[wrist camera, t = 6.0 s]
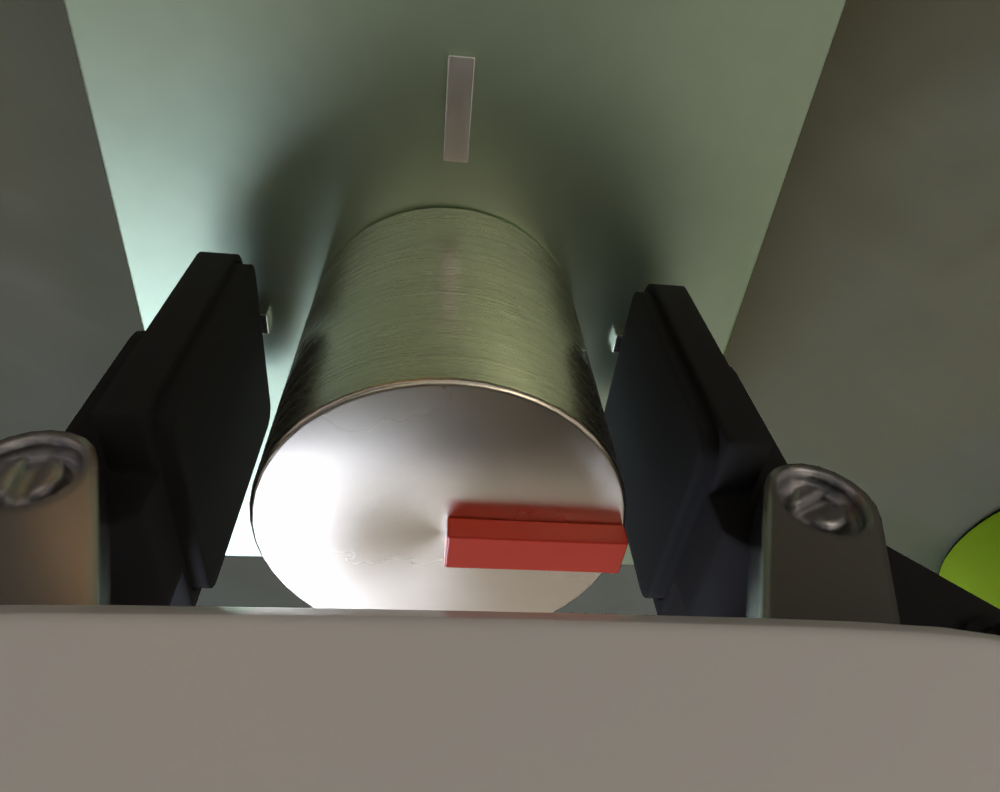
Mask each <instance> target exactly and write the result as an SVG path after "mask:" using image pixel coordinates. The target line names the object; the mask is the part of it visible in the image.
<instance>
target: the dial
mask: <svg viewBox="0 0 1000 792" xmlns="http://www.w3.org/2000/svg"><path fill="white" fill-rule="evenodd" d="M626 504H627V502H626V495H625V489H624V483H623V480H622V476H621V473H620V469H619V465H618V462H617V458H616V454H615V451H614V447H613V443H612V440H611V436H610V433H609V429H608V425H607V422H606V418H605V414H604V411H603V407H602V404H601V400H600V396H599V393H598V389H597V385H596V382H595V378H594V374H593V371H592V367H591V364H590V360H589V356H588V353H587V349H586V345H585V342H584V338H583V335H582V331H581V327H580V324H579V320H578V316H577V313H576V309H575V305H574V302H573V298H572V295H571V292H570V289H569V286H568V284H567V282H566V280H565V278H564V276H563V274H562V272H561V270H560V268H559V267H558V266H557V264H556V263H555V261H554V260H553V259H552V257H551V256H550V255H549V254H548V253H547V252H546V251H545V250H544V249H543V248H542V246H541V245H540V244H538V243H537V242H536V241H535V240H533V239H532V238H531V237H530V236H528V235H527V234H526V233H524V232H523V231H521V230H519V229H518V228H516V227H514V226H513V225H511V224H509V223H507V222H504V221H502V220H500V219H497V218H495V217H493V216H489V215H486V214H482V213H479V212H475V211H469V210H463V209H456V208H429V209H419V210H414V211H409V212H405V213H400V214H397V215H394V216H392V217H389V218H386V219H384V220H381V221H379V222H377V223H375V224H373V225H371V226H370V227H368V228H366V229H364V230H363V231H361V232H360V233H359V234H357V235H356V236H355V237H353V238H352V239H350V240H349V241H348V242H347V243H346V244H345V245H344V246H343V247H342V248H341V249H340V250H339V251H338V252H337V254H336V255H335V256H334V258H333V259H332V260H331V261H330V263H329V264H328V266H327V268H326V269H325V271H324V273H323V275H322V277H321V279H320V281H319V284H318V287H317V290H316V293H315V295H314V299H313V302H312V305H311V308H310V311H309V314H308V317H307V320H306V323H305V326H304V329H303V332H302V335H301V338H300V341H299V344H298V347H297V350H296V353H295V356H294V359H293V363H292V366H291V369H290V372H289V375H288V378H287V381H286V384H285V387H284V390H283V393H282V396H281V399H280V402H279V405H278V408H277V411H276V414H275V417H274V420H273V423H272V427H271V430H270V433H269V436H268V439H267V442H266V445H265V448H264V451H263V454H262V457H261V460H260V463H259V466H258V469H257V472H256V475H255V478H254V481H253V484H252V490H251V496H250V503H249V506H250V522H251V527H252V531H253V535H254V539H255V542H256V544H257V547H258V549H259V551H260V553H261V556H262V558H263V559H264V561H265V562H266V564H267V565H268V567H269V568H270V570H271V571H272V573H273V574H274V575H275V576H276V577H277V578H278V579H279V581H280V582H281V583H282V584H283V585H284V586H285V587H286V588H287V589H289V590H290V591H291V592H292V593H293V594H294V595H295V596H297V597H298V598H299V599H301V600H302V601H304V602H305V603H306V604H308V605H309V606H311V607H312V608H342V609H395V610H447V611H495V612H542V613H553V612H555V611H557V610H559V609H560V608H562V607H564V606H566V605H567V604H568V603H570V602H571V601H573V600H574V599H575V598H577V597H578V596H580V595H581V594H582V593H583V592H584V591H585V590H586V589H587V588H589V587H590V586H591V585H592V584H593V583H594V582H595V581H596V580H597V578H598V577H599V576H600V575H601V574H602V573H618V572H619V570H620V567H621V564H622V561H623V558H624V555H625V552H626V549H627V546H628V539H627V535H626V532H625V528H624V525H625V521H626Z"/></svg>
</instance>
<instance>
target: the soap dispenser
mask: <svg viewBox="0 0 1000 792" xmlns="http://www.w3.org/2000/svg"><path fill="white" fill-rule="evenodd" d="M939 576H941V577H943V578H945V579H947V580H948V581H950V582H952V583H954V584H956V585H957V586H959V587H961V588H963V589H964V590H966V591H968V592H970V593H972V594H973V595H975V596H977V597H979V598H981V599H982V600H984V601H986V602H988V603H989V604H991V605H993V606H995V607H997V608H998V609H1000V511H999V512H997V513H996V514H994V515H992V516H991V517H989V518H987V519H986V520H984V521H983V522H981V523H980V524H978V525H977V526H976V527H974V528H973V529H972V530H971V531H969V532H968V533H967V534H966V535H965V536H964V537H963V538H962V539H961V540H960V541H959V542H958V543H957V544H956V545H955V546H954V547H953V548H952V550H951V551H950V552H949V554H948V555H947V557H946V558H945V560H944V562H943V564H942V566H941V569H940V572H939Z"/></svg>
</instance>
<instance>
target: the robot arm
mask: <svg viewBox="0 0 1000 792" xmlns="http://www.w3.org/2000/svg"><path fill="white" fill-rule="evenodd" d="M270 411H271V405H270V395H269V386H268V377H267V368H266V360H265V351H264V342H263V333H262V324H261V316H260V307H259V298H258V289H257V281H256V273H255V269H254V266H253V265H251V264H243V262H242V259H241V257H240V255H239V254H228V253H214V252H199V253H198V254H197V255H196V256H195V258H194V259H193V261H192V262H191V264H190V265H189V267H188V268H187V270H186V271H185V273H184V274H183V276H182V277H181V279H180V280H179V282H178V283H177V285H176V286H175V288H174V289H173V291H172V292H171V294H170V295H169V297H168V298H167V300H166V301H165V303H164V304H163V306H162V307H161V309H160V310H159V312H158V313H157V315H156V316H155V318H154V319H153V320H152V322H151V323H150V325H149V326H148V328H147V329H146V331H137V332H135V333H134V334H133V335H132V336H131V337H130V339H129V340H128V341H127V343H126V344H125V346H124V347H123V349H122V350H121V351H120V353H119V354H118V356H117V357H116V359H115V360H114V362H113V363H112V364H111V366H110V367H109V369H108V370H107V372H106V373H105V375H104V376H103V377H102V379H101V380H100V382H99V383H98V385H97V386H96V388H95V389H94V390H93V392H92V393H91V395H90V396H89V398H88V399H87V400H86V402H85V403H84V405H83V406H82V408H81V409H80V411H79V412H78V413H77V415H76V416H75V418H74V419H73V421H72V422H71V424H70V425H69V426H68V428H67V429H66V431H65V432H64V431H55V430H46V431H33V432H27V433H23V434H19V435H15V436H10V437H7V438H5V439H2V440H0V792H1000V609H998V608H997V607H995V606H993V605H991V604H989V603H988V602H986V601H984V600H982V599H981V598H979V597H977V596H975V595H973V594H972V593H970V592H968V591H966V590H964V589H963V588H961V587H959V586H957V585H956V584H954V583H952V582H950V581H948V580H947V579H945V578H943V577H941V576H939V575H938V574H936V573H934V572H932V571H931V570H929V569H927V568H925V567H923V566H922V565H920V564H918V563H916V562H914V561H913V560H911V559H909V558H907V557H906V556H904V555H902V554H900V553H898V552H897V551H895V550H893V549H891V548H890V547H888V546H886V541H885V536H884V530H883V525H882V519H881V516H880V514H879V511H878V509H877V506H876V505H875V504H874V502H873V501H872V500H871V499H870V497H869V496H868V495H867V494H866V493H865V492H864V491H863V490H862V489H860V488H859V487H858V486H857V485H856V484H854V483H853V482H852V481H850V480H848V479H846V478H844V477H843V476H841V475H839V474H837V473H835V472H832V471H830V470H827V469H824V468H822V467H819V466H813V465H807V464H787V463H786V461H785V459H784V457H783V456H782V454H781V452H780V450H779V449H778V447H777V445H776V443H775V441H774V440H773V438H772V436H771V434H770V433H769V431H768V429H767V427H766V425H765V424H764V422H763V420H762V418H761V417H760V415H759V413H758V411H757V409H756V408H755V406H754V404H753V402H752V401H751V399H750V397H749V395H748V393H747V392H746V390H745V388H744V386H743V384H742V383H741V381H740V379H739V377H738V376H737V374H736V372H735V371H734V370H733V369H732V367H730V366H729V365H728V363H727V361H726V359H725V357H724V356H723V354H722V352H721V350H720V348H719V347H718V345H717V343H716V341H715V339H714V338H713V336H712V334H711V332H710V331H709V329H708V327H707V325H706V323H705V322H704V320H703V318H702V316H701V314H700V313H699V311H698V309H697V307H696V305H695V304H694V302H693V300H692V298H691V296H690V295H689V293H688V291H687V289H686V288H685V287H684V286H677V285H663V284H649V285H647V287H646V289H645V291H644V292H637V291H636V292H635V293H634V295H633V298H632V301H631V305H630V309H629V313H628V317H627V321H626V325H625V329H624V333H623V338H622V342H621V346H620V350H619V354H618V358H617V362H616V366H615V370H614V374H613V378H612V382H611V386H610V390H609V394H608V398H607V402H606V407H605V411H604V414H605V418H606V422H607V425H608V429H609V433H610V436H611V440H612V443H613V447H614V451H615V454H616V458H617V462H618V465H619V469H620V473H621V476H622V480H623V483H624V489H625V495H626V502H627V504H626V521H625V525H624V528H625V532H626V535H627V539H628V543H629V547H630V551H631V555H632V559H633V562H634V566H635V570H636V574H637V578H638V582H639V586H640V589H641V592H642V595H643V596H644V597H645V598H653V600H654V603H655V607H656V611H657V614H658V615H626V614H587V613H542V612H495V611H447V610H395V609H342V608H279V607H211V606H195V605H196V603H197V600H198V597H199V594H200V591H201V588H212V587H213V586H214V585H215V583H216V581H217V578H218V575H219V572H220V569H221V566H222V563H223V560H224V557H225V554H226V551H227V548H228V545H229V542H230V539H231V536H232V533H233V530H234V527H235V524H236V521H237V518H238V515H239V512H240V509H241V506H242V503H243V500H244V497H245V494H246V491H247V488H248V485H249V482H250V479H251V476H252V473H253V470H254V467H255V464H256V461H257V458H258V455H259V452H260V449H261V446H262V443H263V440H264V437H265V434H266V431H267V428H268V425H269V421H270Z"/></svg>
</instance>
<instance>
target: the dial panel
mask: <svg viewBox="0 0 1000 792" xmlns="http://www.w3.org/2000/svg"><path fill="white" fill-rule="evenodd" d="M63 1H64V5H65V9H66V14H67V18H68V22H69V26H70V30H71V34H72V38H73V42H74V47H75V51H76V55H77V59H78V63H79V67H80V71H81V75H82V80H83V84H84V88H85V92H86V96H87V100H88V104H89V108H90V112H91V117H92V121H93V125H94V129H95V133H96V137H97V141H98V145H99V150H100V154H101V158H102V162H103V166H104V170H105V174H106V178H107V183H108V187H109V191H110V195H111V199H112V203H113V207H114V211H115V215H116V220H117V224H118V228H119V232H120V236H121V240H122V244H123V248H124V253H125V257H126V261H127V265H128V269H129V273H130V277H131V281H132V286H133V290H134V294H135V298H136V302H137V306H138V310H139V314H140V319H141V323H142V327H143V331H146V329H147V328H148V326H149V325H150V323H151V322H152V320H153V319H154V318H155V316H156V315H157V313H158V312H159V310H160V309H161V307H162V306H163V304H164V303H165V301H166V300H167V298H168V297H169V295H170V294H171V292H172V291H173V289H174V288H175V286H176V285H177V283H178V282H179V280H180V279H181V277H182V276H183V274H184V273H185V271H186V270H187V268H188V267H189V265H190V264H191V262H192V261H193V259H194V258H195V256H196V255H197V254H198V253H199V252H214V253H228V254H239V255H240V257H241V259H242V262H243V264H251V265H253V266H254V269H255V273H256V281H257V289H258V298H259V307H260V316H261V324H262V333H263V342H264V351H265V360H266V368H267V377H268V386H269V395H270V405H271V411H270V421H269V425H268V428H267V431H266V434H265V437H264V440H263V443H262V446H261V449H260V452H259V455H258V458H257V461H256V464H255V467H254V470H253V473H252V476H251V479H250V482H249V485H248V488H247V491H246V494H245V497H244V500H243V503H242V506H241V509H240V512H239V515H238V518H237V521H236V524H235V527H234V530H233V533H232V536H231V539H230V542H229V545H228V548H227V551H226V554H225V556H254V557H262V556H261V553H260V551H259V549H258V547H257V544H256V542H255V539H254V535H253V531H252V527H251V522H250V506H249V503H250V496H251V490H252V484H253V481H254V478H255V475H256V472H257V469H258V466H259V463H260V460H261V457H262V454H263V451H264V448H265V445H266V442H267V439H268V436H269V433H270V430H271V427H272V423H273V420H274V417H275V414H276V411H277V408H278V405H279V402H280V399H281V396H282V393H283V390H284V387H285V384H286V381H287V378H288V375H289V372H290V369H291V366H292V363H293V359H294V356H295V353H296V350H297V347H298V344H299V341H300V338H301V335H302V332H303V329H304V326H305V323H306V320H307V317H308V314H309V311H310V308H311V305H312V302H313V299H314V295H315V293H316V290H317V287H318V284H319V281H320V279H321V277H322V275H323V273H324V271H325V269H326V268H327V266H328V264H329V263H330V261H331V260H332V259H333V258H334V256H335V255H336V254H337V252H338V251H339V250H340V249H341V248H342V247H343V246H344V245H345V244H346V243H347V242H348V241H349V240H350V239H352V238H353V237H355V236H356V235H357V234H359V233H360V232H361V231H363V230H364V229H366V228H368V227H370V226H371V225H373V224H375V223H377V222H379V221H381V220H384V219H386V218H389V217H392V216H394V215H397V214H400V213H405V212H409V211H414V210H419V209H429V208H456V209H463V210H469V211H475V212H479V213H482V214H486V215H489V216H493V217H495V218H497V219H500V220H502V221H504V222H507V223H509V224H511V225H513V226H514V227H516V228H518V229H519V230H521V231H523V232H524V233H526V234H527V235H528V236H530V237H531V238H532V239H533V240H535V241H536V242H537V243H538V244H540V245H541V246H542V248H543V249H544V250H545V251H546V252H547V253H548V254H549V255H550V256H551V257H552V259H553V260H554V261H555V263H556V264H557V266H558V267H559V268H560V270H561V272H562V274H563V276H564V278H565V280H566V282H567V284H568V286H569V289H570V292H571V295H572V298H573V302H574V305H575V309H576V313H577V316H578V320H579V324H580V327H581V331H582V335H583V338H584V342H585V345H586V349H587V353H588V356H589V360H590V364H591V367H592V371H593V374H594V378H595V382H596V385H597V389H598V393H599V396H600V400H601V404H602V407H603V411H605V407H606V402H607V398H608V394H609V390H610V386H611V382H612V378H613V374H614V370H615V366H616V362H617V358H618V354H619V350H620V346H621V342H622V338H623V333H624V329H625V325H626V321H627V317H628V313H629V309H630V305H631V301H632V298H633V295H634V293H635V292H636V291H637V292H644V291H645V289H646V287H647V285H649V284H663V285H677V286H684V287H685V288H686V289H687V291H688V293H689V295H690V296H691V298H692V300H693V302H694V304H695V305H696V307H697V309H698V311H699V313H700V314H701V316H702V318H703V320H704V322H705V323H706V325H707V327H708V329H709V331H710V332H711V334H712V336H713V338H714V339H715V341H716V343H717V345H718V347H719V348H720V350H721V352H722V354H723V356H724V353H725V350H726V347H727V344H728V342H729V339H730V336H731V333H732V330H733V327H734V324H735V321H736V318H737V316H738V313H739V310H740V307H741V304H742V301H743V298H744V295H745V292H746V289H747V287H748V284H749V281H750V278H751V275H752V272H753V269H754V266H755V263H756V261H757V258H758V255H759V252H760V249H761V246H762V243H763V240H764V237H765V234H766V232H767V229H768V226H769V223H770V220H771V217H772V214H773V211H774V208H775V206H776V203H777V200H778V197H779V194H780V191H781V188H782V185H783V182H784V179H785V177H786V174H787V171H788V168H789V165H790V162H791V159H792V156H793V153H794V151H795V148H796V145H797V142H798V139H799V136H800V133H801V130H802V127H803V125H804V122H805V119H806V116H807V113H808V110H809V107H810V104H811V101H812V98H813V96H814V93H815V90H816V87H817V84H818V81H819V78H820V75H821V72H822V70H823V67H824V64H825V61H826V58H827V55H828V52H829V49H830V46H831V43H832V41H833V38H834V35H835V32H836V29H837V26H838V23H839V20H840V17H841V15H842V12H843V9H844V6H845V3H846V0H63ZM621 565H634V562H633V559H632V555H631V551H630V547H629V543H628V546H627V549H626V552H625V555H624V558H623V561H622V564H621Z"/></svg>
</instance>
